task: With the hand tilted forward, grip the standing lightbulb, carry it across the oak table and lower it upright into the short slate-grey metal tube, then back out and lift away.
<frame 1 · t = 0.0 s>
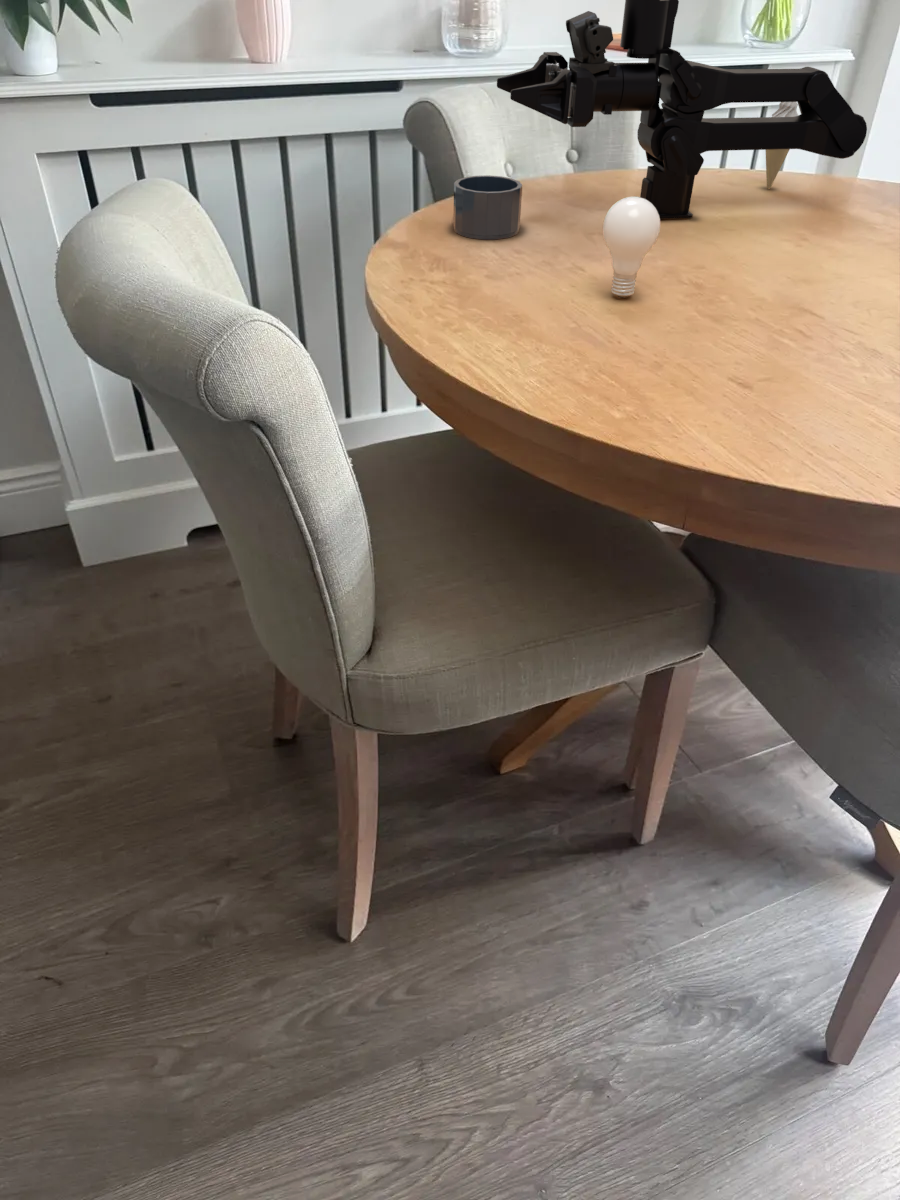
hand: (503, 88, 116), 17 cm above the table, tool horizontal, fingers open, 9 cm apart
lightbulb: (621, 298, 103), on the table
tube: (486, 229, 123), on the table
ice cream cone: (768, 190, 142), on the table
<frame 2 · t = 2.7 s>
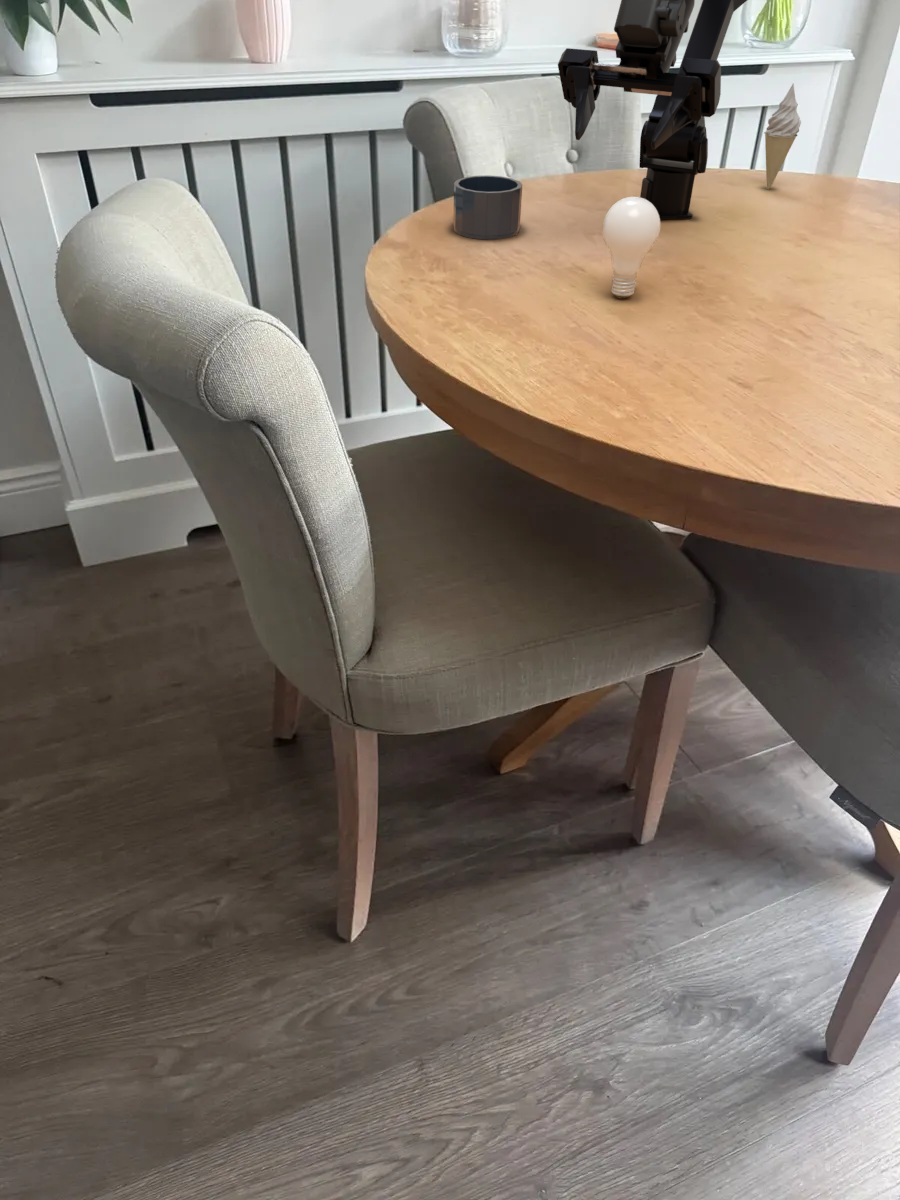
hand: (614, 141, 101), 15 cm above the table, tool tilted 50°, fingers open, 9 cm apart
nothing on the table moved.
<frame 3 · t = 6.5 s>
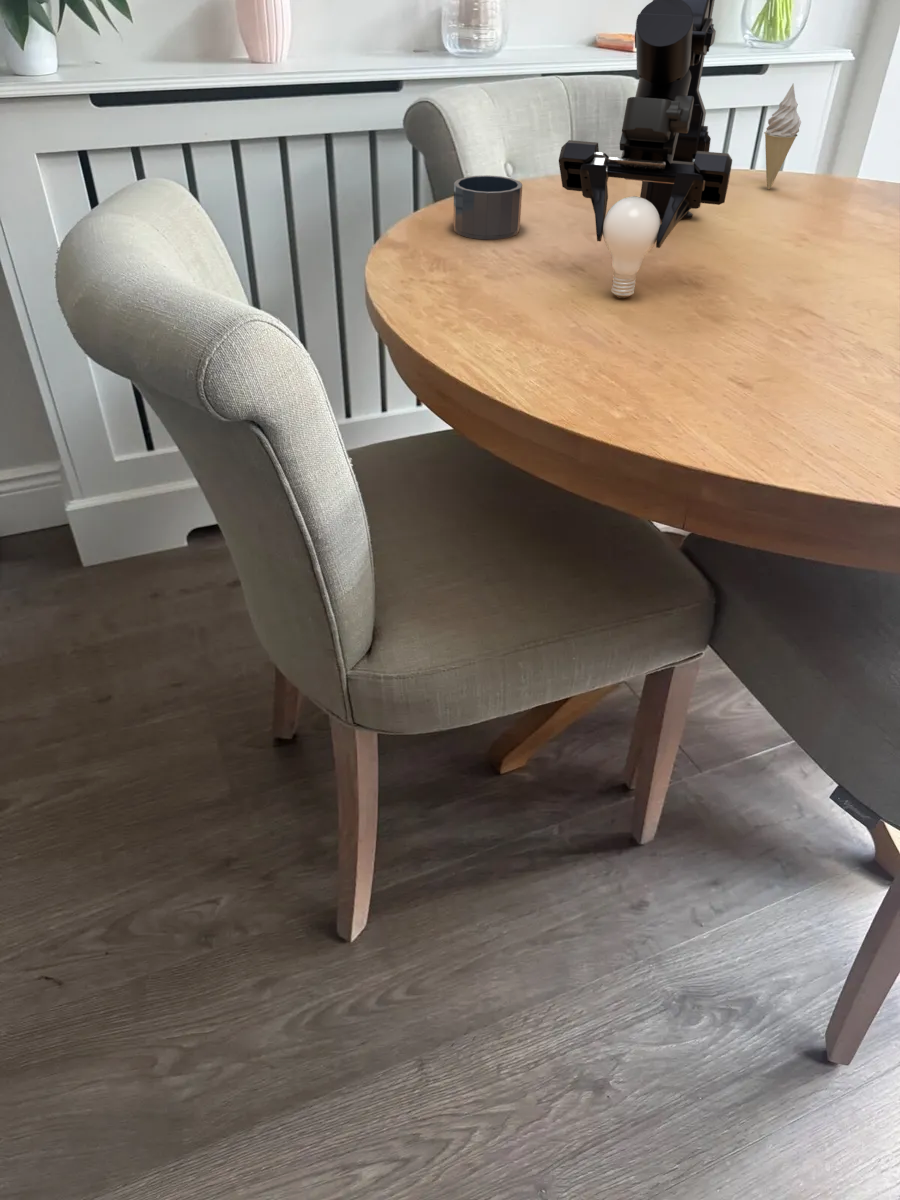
hand: (627, 242, 97), 7 cm above the table, tool tilted 45°, fingers closed on lightbulb, 6 cm apart
lightbulb: (621, 298, 103), on the table, touching gripper
everything else where it was.
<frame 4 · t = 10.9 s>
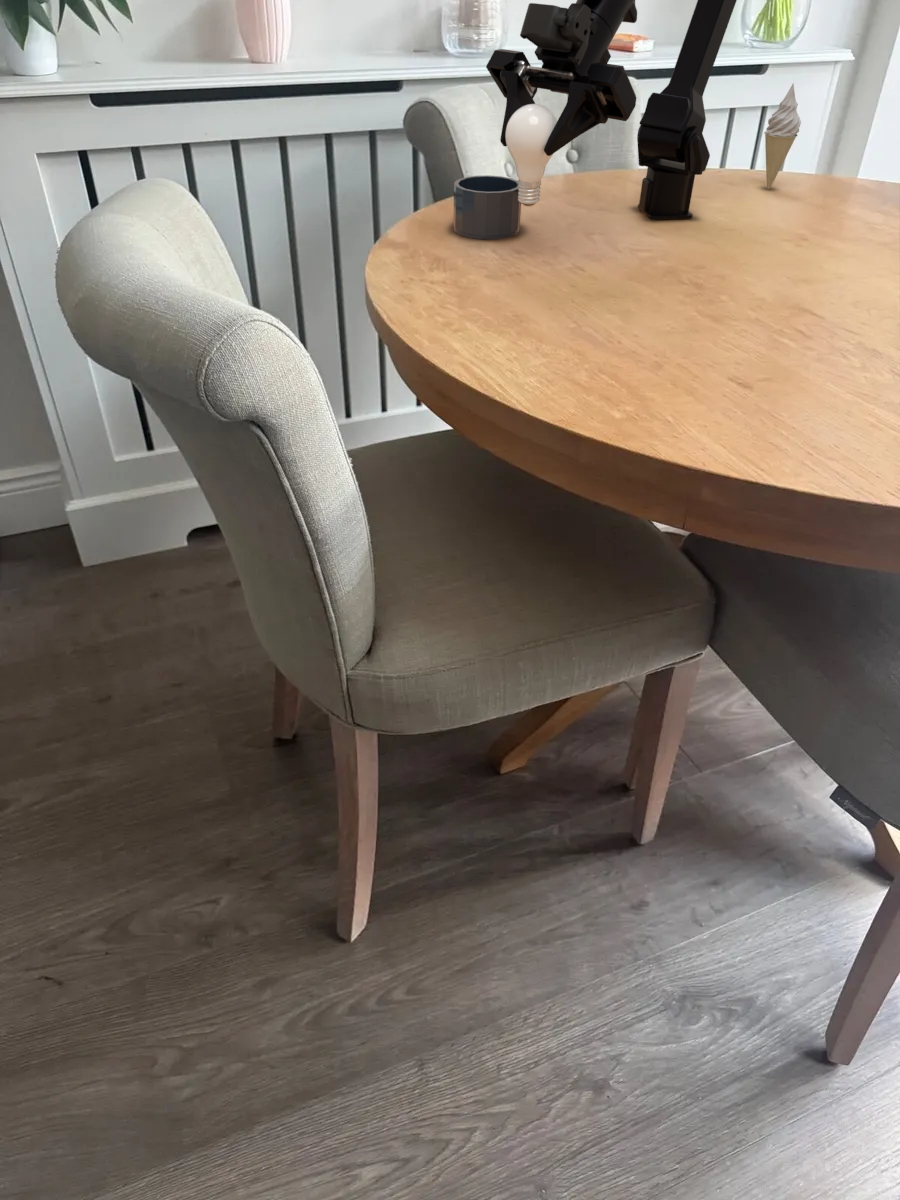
hand: (524, 148, 102), 14 cm above the table, tool tilted 45°, fingers closed on lightbulb, 6 cm apart
lightbulb: (528, 207, 107), point 7 cm above the table, touching gripper
everything else where it was.
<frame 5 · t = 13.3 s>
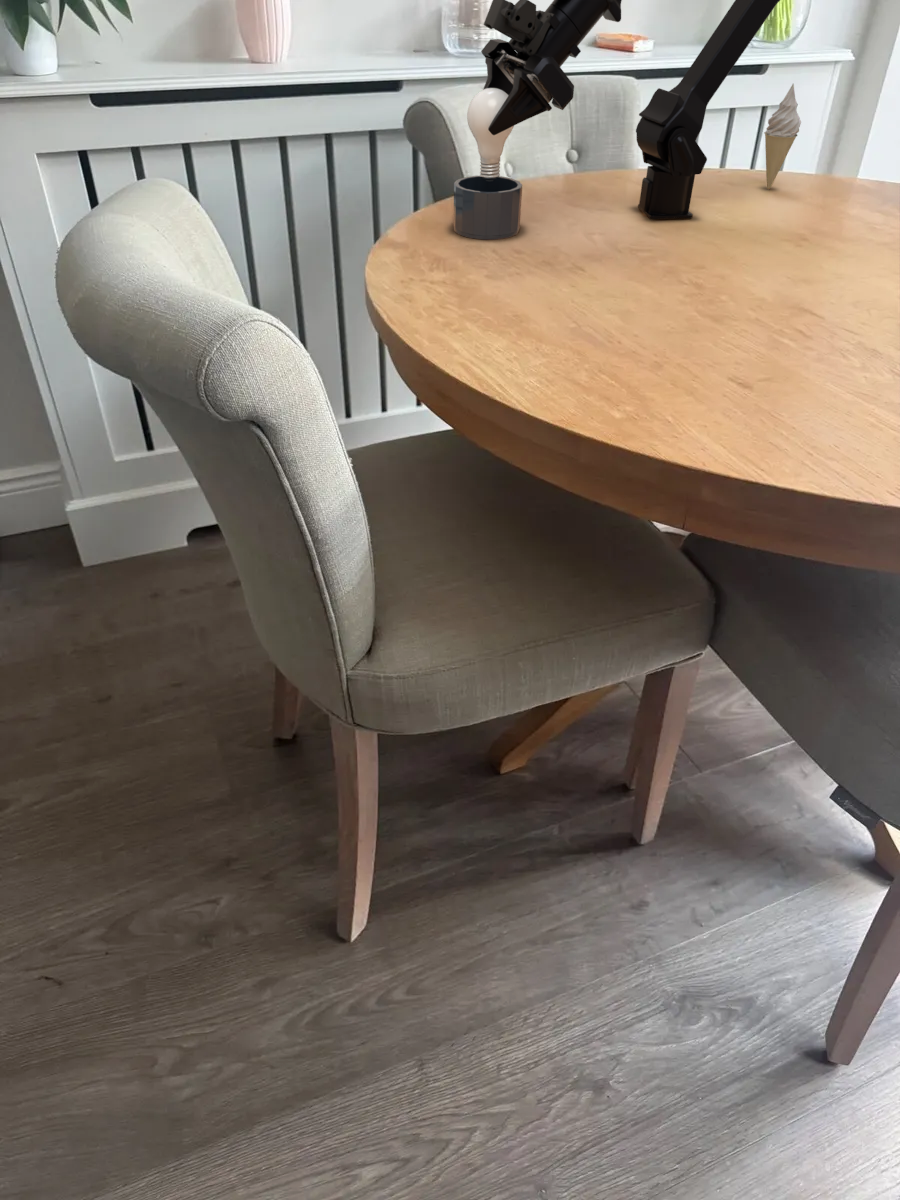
hand: (481, 127, 114), 13 cm above the table, tool tilted 45°, fingers closed on lightbulb, 6 cm apart
lightbulb: (489, 182, 119), point 6 cm above the table, touching gripper
everything else where it was.
when the fingers open (7 cm above the table, at t = 15.5 s): lightbulb stays where it is, resting on tube.
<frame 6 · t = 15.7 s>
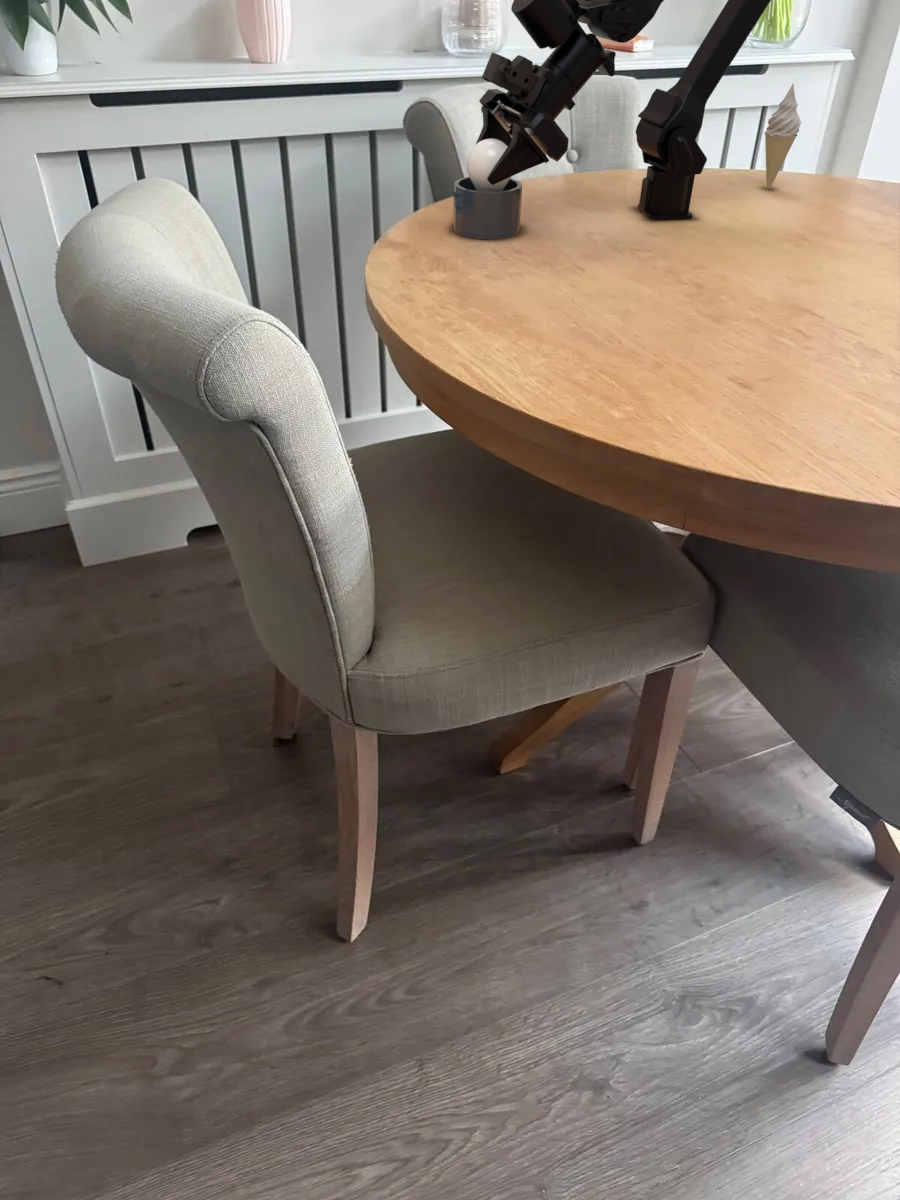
hand: (478, 175, 118), 7 cm above the table, tool tilted 45°, fingers open, 8 cm apart
lightbulb: (487, 227, 122), resting on tube
everything else where it was.
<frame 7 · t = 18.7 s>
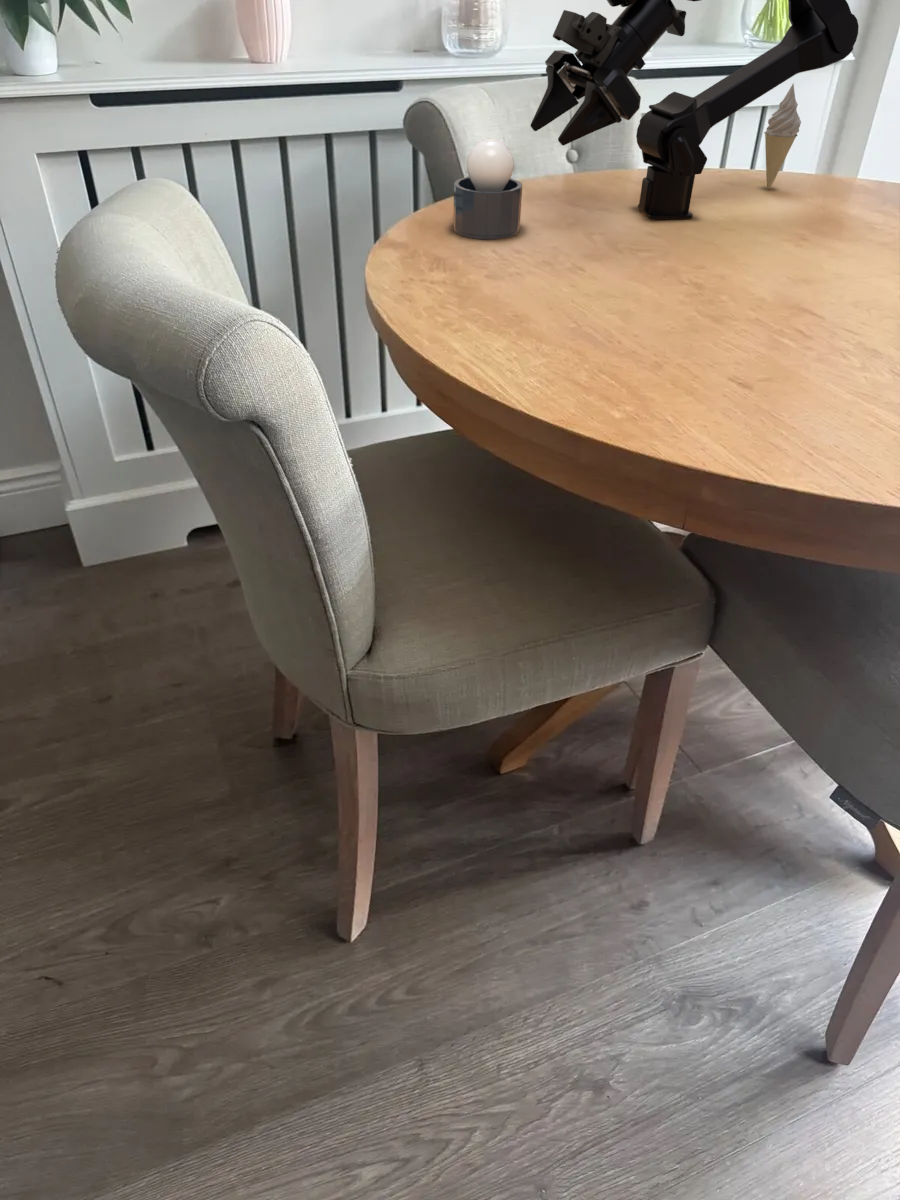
hand: (546, 135, 117), 12 cm above the table, tool tilted 45°, fingers open, 9 cm apart
nothing on the table moved.
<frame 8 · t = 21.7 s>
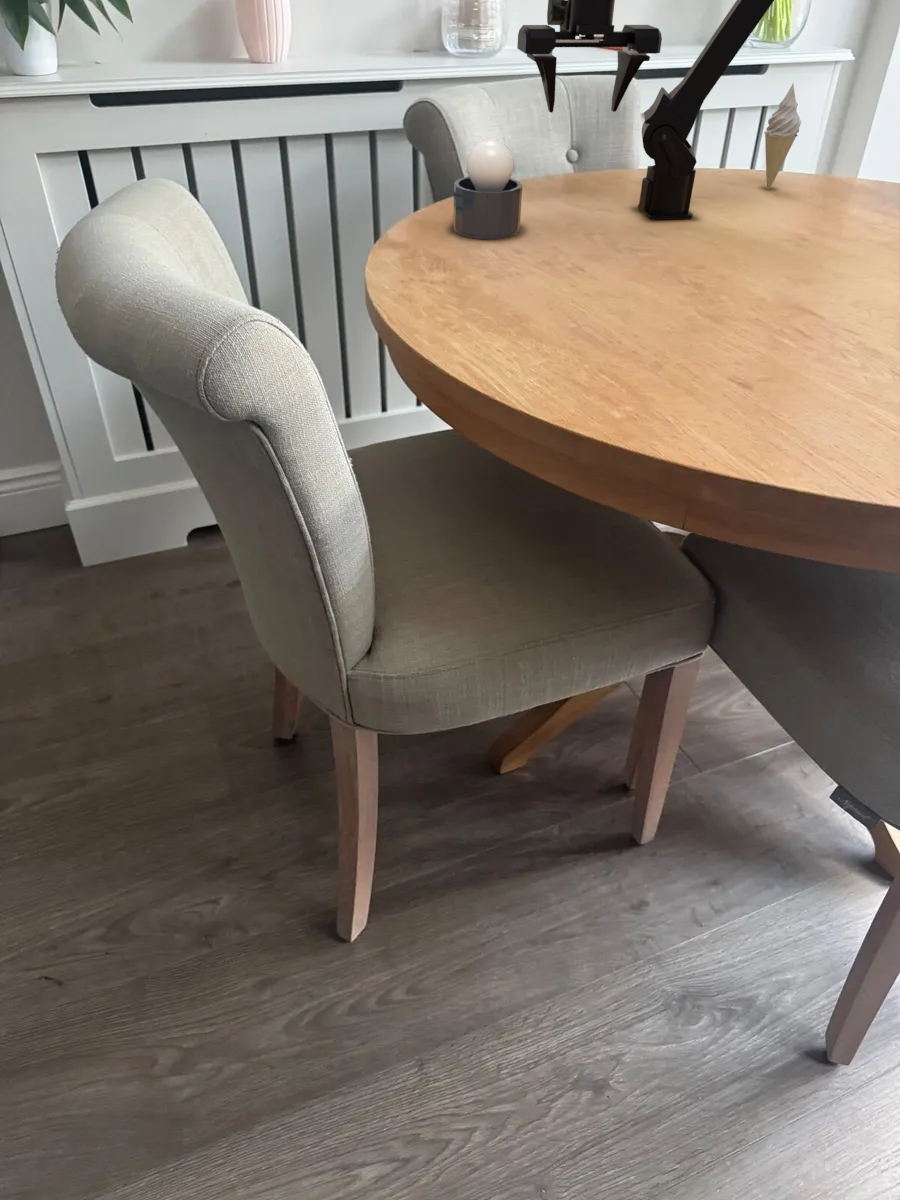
hand: (582, 111, 123), 13 cm above the table, tool pointing down, fingers open, 9 cm apart
nothing on the table moved.
at the end: lightbulb 0.2 cm off-centre in the tube, point 0.3 cm above the tube's base; lightbulb tilted 0°; the gripper is holding nothing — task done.
